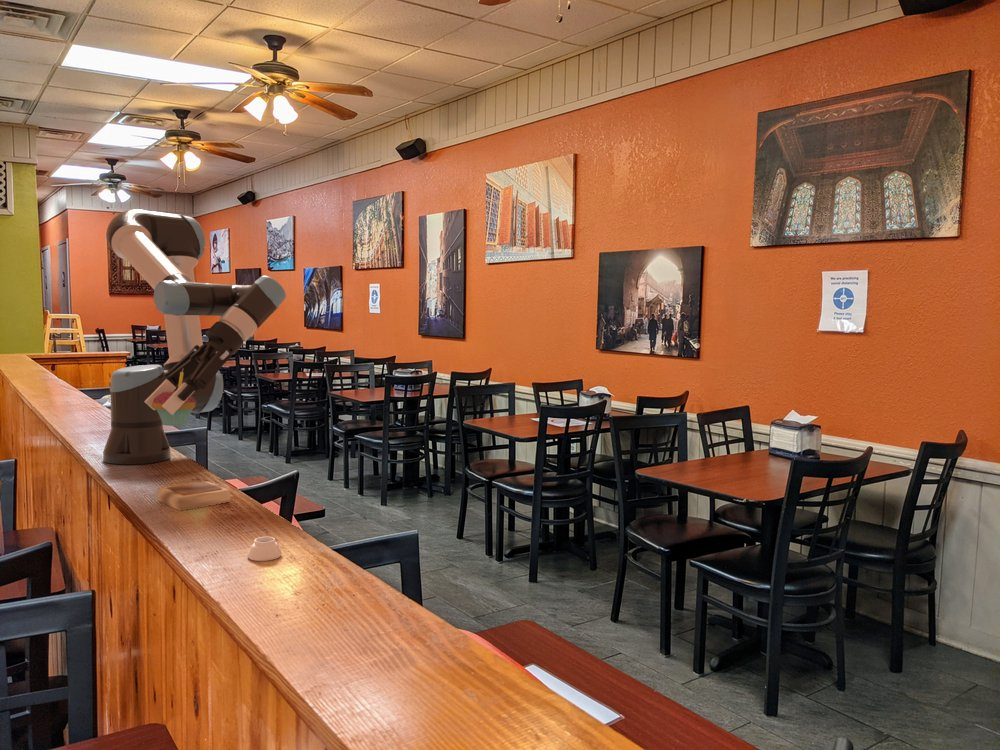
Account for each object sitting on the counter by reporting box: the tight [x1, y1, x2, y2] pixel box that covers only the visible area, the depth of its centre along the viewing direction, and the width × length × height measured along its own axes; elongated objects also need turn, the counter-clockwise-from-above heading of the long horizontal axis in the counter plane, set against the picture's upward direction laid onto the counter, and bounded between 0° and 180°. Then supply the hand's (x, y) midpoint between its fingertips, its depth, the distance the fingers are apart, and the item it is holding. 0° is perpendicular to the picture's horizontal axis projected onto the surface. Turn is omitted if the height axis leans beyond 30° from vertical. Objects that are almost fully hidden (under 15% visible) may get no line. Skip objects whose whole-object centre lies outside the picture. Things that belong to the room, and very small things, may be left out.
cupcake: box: [152, 369, 197, 427], centre depth 154 cm, size 9×8×12 cm
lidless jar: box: [247, 536, 283, 562], centre depth 113 cm, size 5×3×5 cm
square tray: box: [157, 480, 231, 512], centre depth 144 cm, size 10×10×3 cm
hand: (158, 408), depth 151 cm, fingers closed on cupcake, 8 cm apart
